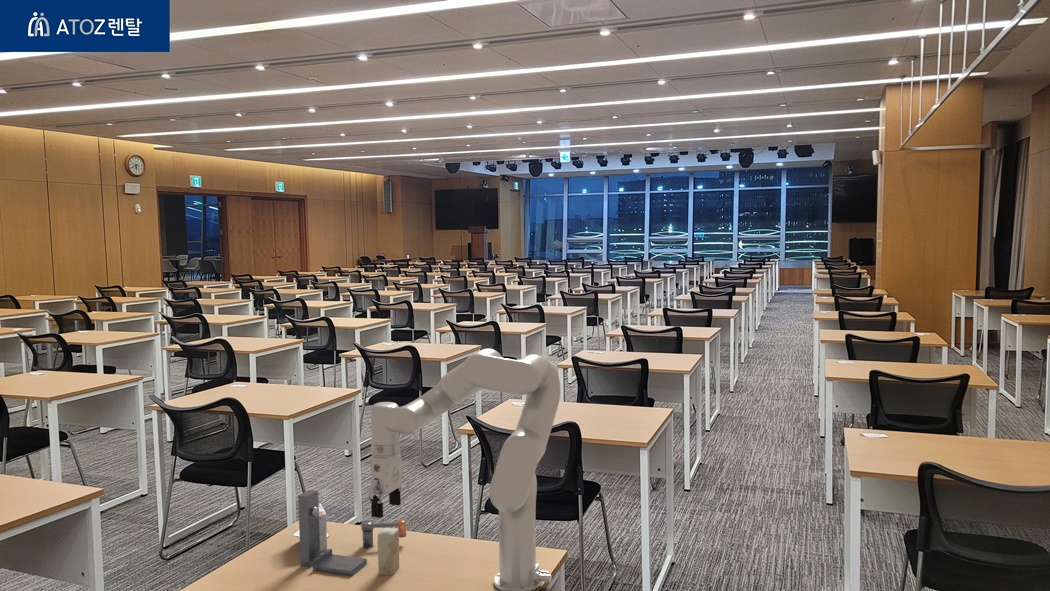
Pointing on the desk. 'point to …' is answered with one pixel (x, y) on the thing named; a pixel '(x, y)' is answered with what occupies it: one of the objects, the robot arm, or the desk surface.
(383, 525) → the lever
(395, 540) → the box
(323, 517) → the light bulb box
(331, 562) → the press
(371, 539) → the lever post
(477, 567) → the desk surface
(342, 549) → the desk surface
